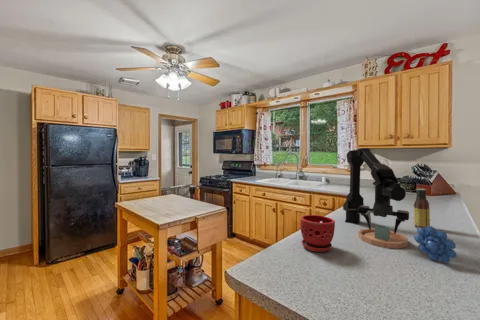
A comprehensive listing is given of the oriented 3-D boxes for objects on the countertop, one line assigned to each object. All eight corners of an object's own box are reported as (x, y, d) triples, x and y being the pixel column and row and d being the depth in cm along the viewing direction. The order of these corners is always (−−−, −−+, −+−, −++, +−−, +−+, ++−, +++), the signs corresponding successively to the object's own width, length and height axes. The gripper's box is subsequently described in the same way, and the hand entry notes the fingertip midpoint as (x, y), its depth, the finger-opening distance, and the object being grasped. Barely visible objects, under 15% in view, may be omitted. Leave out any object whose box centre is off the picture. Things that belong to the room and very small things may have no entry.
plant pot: (329, 257, 82) (329, 225, 82) (295, 248, 90) (295, 219, 90) (338, 246, 93) (338, 217, 93) (307, 239, 101) (307, 212, 101)
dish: (354, 240, 98) (354, 236, 98) (363, 230, 112) (363, 226, 112) (405, 252, 87) (405, 246, 87) (408, 238, 100) (408, 234, 100)
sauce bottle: (424, 226, 118) (424, 188, 117) (433, 230, 111) (433, 190, 111) (410, 225, 118) (411, 188, 118) (418, 229, 112) (419, 190, 112)
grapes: (410, 257, 82) (410, 225, 82) (416, 252, 86) (416, 221, 86) (453, 271, 73) (454, 234, 72) (458, 264, 77) (458, 229, 76)
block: (374, 238, 99) (374, 226, 99) (376, 235, 103) (376, 224, 103) (388, 240, 96) (388, 229, 96) (389, 237, 100) (389, 226, 100)
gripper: (354, 196, 99) (354, 231, 99) (407, 202, 87) (407, 242, 87) (360, 193, 107) (360, 225, 108) (409, 197, 95) (409, 234, 96)
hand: (382, 231), depth 99 cm, fingers open, 9 cm apart
